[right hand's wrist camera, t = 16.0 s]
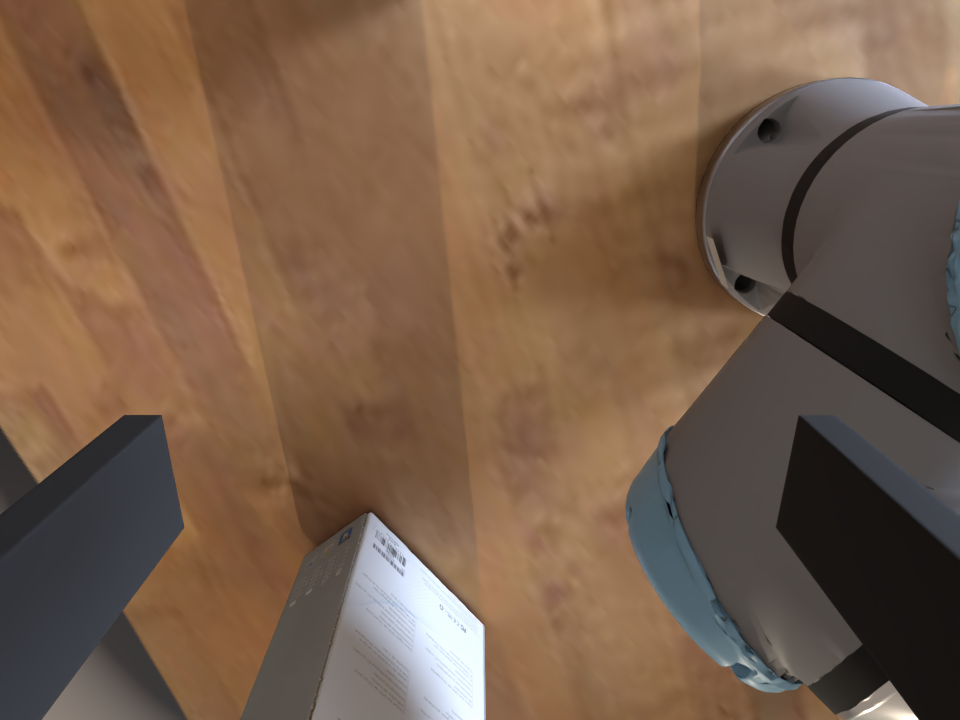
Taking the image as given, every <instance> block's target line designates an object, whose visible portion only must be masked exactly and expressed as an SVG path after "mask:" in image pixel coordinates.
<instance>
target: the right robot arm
mask: <svg viewBox="0 0 960 720" xmlns="http://www.w3.org/2000/svg"><path fill="white" fill-rule="evenodd" d="M696 233H697V240H698V244H699V249H700V252H701V255H702V258H703V260H704V262H705V264H706V267H707V269H708V270H709V272H710V273H711V275H712V277H713V278H714V279H715V281H716V282H717V283H718V284H719V286H720V287H721V288H722V289H723V290H724V291H725V292H726V293H728V294H729V295H730V296H731V297H733V298H734V299H735V300H737V301H738V302H740V303H741V304H743V305H744V306H746V307H748V308H749V309H751V310H753V311H755V312H757V313H759V314H761V315H763V316H764V318H763V319H762V320H761V321H760V322H759V324H758V325H757V326H756V327H755V329H754V330H753V331H752V332H751V333H750V335H749V336H748V337H747V338H746V340H745V341H744V342H743V343H742V344H741V346H740V347H739V348H738V349H737V351H736V352H735V353H734V354H733V355H732V357H731V358H730V359H729V360H728V362H727V363H726V364H725V365H724V366H723V368H722V369H721V370H720V371H719V373H718V374H717V375H716V376H715V377H714V379H713V380H712V381H711V382H710V384H709V385H708V386H707V387H706V388H705V390H704V391H703V392H702V393H701V394H700V396H699V397H698V398H697V399H696V401H695V402H694V403H693V404H692V405H691V407H690V408H689V409H688V410H687V412H686V413H685V414H684V415H683V416H682V418H681V419H680V420H679V421H678V422H677V424H676V425H675V426H670V427H669V428H668V429H667V430H666V431H665V432H664V434H663V435H662V436H661V438H660V441H659V444H658V447H657V449H656V450H655V451H654V453H653V454H652V456H651V457H650V458H649V460H648V461H647V463H646V464H645V465H644V467H643V468H642V470H641V471H640V472H639V474H638V475H637V476H636V478H635V479H634V480H633V482H632V484H631V486H630V488H629V491H628V494H627V499H626V519H627V523H628V525H629V536H630V539H631V543H632V545H633V548H634V551H635V553H636V555H637V558H638V560H639V562H640V564H641V566H642V568H643V570H644V572H645V574H646V576H647V578H648V579H649V581H650V583H651V585H652V586H653V588H654V589H655V591H656V592H657V594H658V595H659V597H660V599H661V600H662V601H663V603H664V604H665V606H666V607H667V608H668V610H669V611H670V612H671V614H672V615H673V617H674V618H675V619H676V620H677V622H678V623H679V624H680V625H681V626H682V628H683V629H684V630H685V631H686V633H687V634H688V635H689V636H690V637H691V638H692V639H693V640H694V641H695V642H696V643H697V645H698V646H699V647H700V648H701V649H703V650H704V651H705V652H706V653H707V654H708V655H709V656H710V657H711V658H712V659H713V660H715V661H716V662H717V663H718V664H719V665H721V666H724V667H727V666H730V667H731V669H732V671H733V672H734V674H735V675H736V676H737V678H738V679H739V680H741V681H742V682H744V683H746V684H747V685H749V686H751V687H753V688H755V689H758V690H761V691H764V692H772V693H777V692H782V691H785V690H795V689H797V688H798V687H799V686H800V685H801V684H802V683H804V684H805V685H806V686H807V687H808V688H809V689H810V690H811V691H812V692H813V693H814V694H815V695H816V696H817V697H818V698H819V699H820V700H821V701H822V702H823V703H824V704H825V705H826V706H827V707H828V708H829V709H830V710H831V711H832V712H833V713H834V714H835V715H836V716H837V717H838V718H839V719H840V720H960V104H956V105H940V106H927V105H926V104H924V103H922V102H920V101H919V100H917V99H915V98H913V97H912V96H910V95H908V94H907V93H905V92H903V91H901V90H899V89H897V88H895V87H893V86H890V85H888V84H886V83H882V82H879V81H875V80H870V79H864V78H835V79H828V80H821V81H815V82H809V83H805V84H802V85H798V86H795V87H792V88H790V89H787V90H785V91H783V92H780V93H778V94H776V95H774V96H773V97H771V98H769V99H767V100H766V101H764V102H763V103H761V104H760V105H758V106H757V107H756V108H754V109H753V110H752V111H750V112H749V113H748V114H747V115H746V116H745V117H743V118H742V119H741V120H740V121H739V122H738V123H737V124H736V125H735V126H734V127H733V128H732V130H731V131H730V132H729V133H728V135H727V136H726V137H725V138H724V140H723V141H722V143H721V144H720V145H719V147H718V148H717V150H716V152H715V153H714V155H713V157H712V159H711V161H710V163H709V165H708V167H707V169H706V171H705V174H704V177H703V180H702V183H701V186H700V190H699V194H698V200H697V205H696ZM777 322H778V323H777ZM780 324H781V325H780ZM782 325H783V326H784V327H783V326H782ZM183 528H184V524H183V519H182V514H181V509H180V504H179V499H178V494H177V489H176V484H175V479H174V474H173V469H172V465H171V460H170V455H169V450H168V445H167V440H166V435H165V430H164V425H163V420H162V415H124V416H123V417H121V418H120V419H119V420H118V421H116V422H115V423H114V424H113V425H111V426H110V427H109V428H108V429H106V430H105V431H104V432H103V433H101V434H100V435H99V436H98V437H97V438H95V439H94V440H93V441H92V442H90V443H89V444H88V445H87V446H85V447H84V448H83V449H82V450H80V451H79V452H78V453H77V454H75V455H74V456H73V457H72V458H70V459H69V460H68V461H67V462H65V463H64V464H63V465H62V466H60V467H59V468H58V469H57V470H55V471H54V472H53V473H52V474H50V475H49V476H48V477H47V478H46V479H44V480H43V481H42V482H41V483H39V484H38V485H37V486H36V487H34V488H33V489H32V490H31V491H29V492H28V493H27V494H26V495H24V496H23V497H22V498H21V499H19V500H18V501H17V502H16V503H14V504H13V505H12V506H11V507H9V508H8V509H7V510H6V511H5V512H3V513H2V514H1V515H0V720H42V718H43V717H44V716H45V714H46V713H47V712H48V710H49V709H50V708H51V706H52V705H53V704H54V702H55V701H56V699H57V698H58V697H59V695H60V694H61V693H62V691H63V690H64V689H65V687H66V686H67V685H68V683H69V682H70V681H71V679H72V678H73V677H74V675H75V674H76V673H77V671H78V670H79V669H80V667H81V666H82V665H83V663H84V662H85V661H86V659H87V658H88V656H89V655H90V654H91V652H92V651H93V650H94V648H95V647H96V646H97V644H98V643H99V642H100V640H101V639H102V638H103V636H104V635H105V634H106V632H107V631H108V629H109V628H110V627H111V625H112V624H113V623H114V621H115V620H116V619H117V617H118V616H119V615H120V613H121V612H122V611H123V609H124V608H125V607H126V605H127V604H128V603H129V601H130V600H131V599H132V597H133V596H134V595H135V593H136V592H137V590H138V589H139V588H140V586H141V585H142V584H143V582H144V581H145V580H146V578H147V577H148V576H149V574H150V573H151V572H152V570H153V569H154V568H155V566H156V565H157V564H158V562H159V561H160V559H161V558H162V557H163V555H164V554H165V553H166V551H167V550H168V549H169V547H170V546H171V545H172V543H173V542H174V541H175V539H176V538H177V537H178V535H179V534H180V533H181V531H182V530H183Z"/></svg>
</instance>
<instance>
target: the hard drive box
mask: <svg viewBox="0 0 960 720" xmlns="http://www.w3.org/2000/svg"><path fill="white" fill-rule="evenodd" d="M484 629H485V628H484V625H483V624H482V623H481V622H480V621H479V620H478V619H477V618H476V617H475V616H474V615H473V614H472V613H471V612H470V611H469V610H468V609H467V608H466V607H465V605H464V604H462V603H461V602H460V601H459V600H458V598H457V597H456V596H455V595H454V594H452V593H451V592H450V591H449V590H448V589H447V588H446V587H445V586H444V585H443V584H442V583H441V582H440V581H439V580H438V579H437V578H436V577H435V576H434V575H433V574H432V573H431V572H430V571H429V570H428V569H427V568H426V567H425V566H424V565H423V564H422V563H421V562H420V561H419V559H418V558H417V557H416V556H415V555H414V554H413V553H411V552H410V550H409V549H408V548H407V547H406V546H405V545H404V544H403V543H402V542H401V541H400V540H399V539H398V538H397V537H396V536H395V535H394V534H393V533H392V532H391V531H390V530H389V529H388V528H387V527H386V526H385V525H384V524H383V523H382V522H381V521H380V520H379V519H378V518H377V517H376V516H375V515H374V514H373V513H371V512H370V513H368V514H367V513H364V514H363V515H361V516H360V517H359V518H357V519H356V520H354V521H353V522H351V523H350V524H349V525H347V526H346V527H344V528H343V529H342V530H340V531H339V532H337V533H336V534H335V535H333V536H332V537H330V538H329V539H328V540H326V541H325V542H323V543H322V544H321V545H319V546H318V547H316V548H315V549H314V550H312V551H311V552H310V553H308V554H307V555H306V556H304V559H303V561H302V564H301V566H300V569H299V572H298V574H297V577H296V580H295V582H294V585H293V587H292V590H291V592H290V595H289V597H288V600H287V602H286V605H285V608H284V610H283V613H282V615H281V618H280V620H279V623H278V625H277V628H276V630H275V633H274V635H273V638H272V640H271V643H270V645H269V648H268V650H267V653H266V655H265V658H264V660H263V663H262V665H261V668H260V670H259V673H258V676H257V678H256V681H255V683H254V686H253V688H252V691H251V693H250V696H249V698H248V701H247V704H246V706H245V709H244V711H243V714H242V716H241V719H240V720H486V694H485V631H484Z"/></svg>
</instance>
